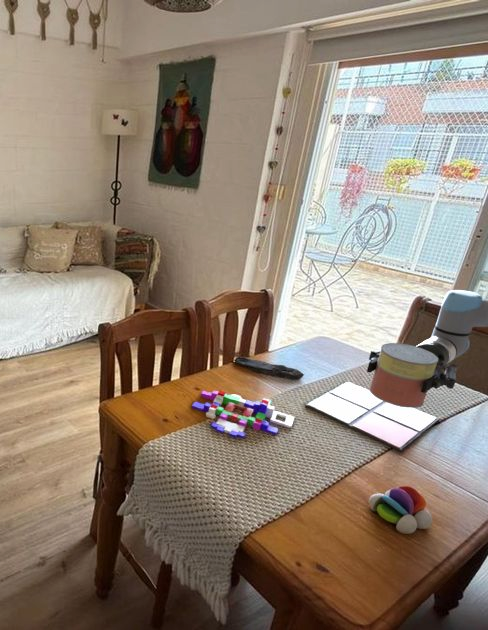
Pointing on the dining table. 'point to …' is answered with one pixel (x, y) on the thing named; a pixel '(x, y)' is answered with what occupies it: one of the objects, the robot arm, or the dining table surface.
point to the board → (373, 415)
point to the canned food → (402, 374)
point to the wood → (268, 368)
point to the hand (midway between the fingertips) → (395, 377)
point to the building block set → (245, 419)
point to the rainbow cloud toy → (402, 509)
